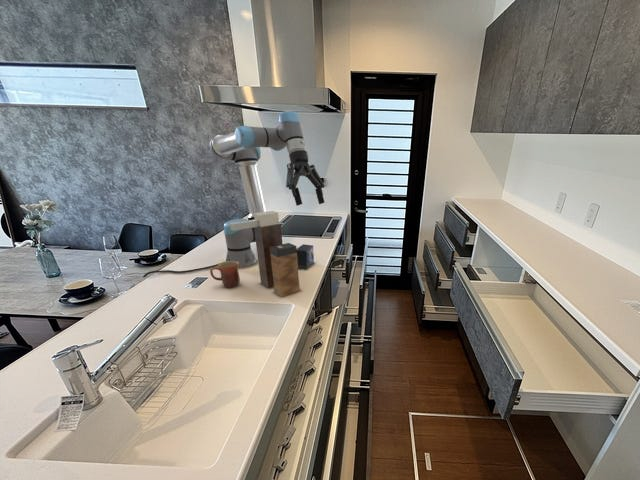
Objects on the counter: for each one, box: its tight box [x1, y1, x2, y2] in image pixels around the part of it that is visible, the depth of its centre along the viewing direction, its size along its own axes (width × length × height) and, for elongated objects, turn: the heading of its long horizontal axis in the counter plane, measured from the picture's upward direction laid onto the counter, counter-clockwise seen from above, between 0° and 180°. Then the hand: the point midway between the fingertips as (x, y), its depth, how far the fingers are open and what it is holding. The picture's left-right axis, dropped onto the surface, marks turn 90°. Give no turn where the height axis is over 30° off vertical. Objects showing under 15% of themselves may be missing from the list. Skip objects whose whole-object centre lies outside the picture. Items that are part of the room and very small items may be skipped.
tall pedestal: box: [254, 223, 283, 289], centre depth 136 cm, size 9×7×28 cm
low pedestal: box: [270, 253, 301, 298], centre depth 131 cm, size 9×6×18 cm, turn 135°
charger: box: [230, 210, 280, 231], centre depth 126 cm, size 20×5×5 cm, turn 135°
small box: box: [296, 243, 315, 270], centre depth 161 cm, size 11×6×10 cm, turn 168°
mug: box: [209, 260, 241, 289], centre depth 136 cm, size 12×9×10 cm
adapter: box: [270, 242, 298, 257], centre depth 126 cm, size 9×6×3 cm, turn 135°
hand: (311, 204), depth 127 cm, fingers open, 13 cm apart
